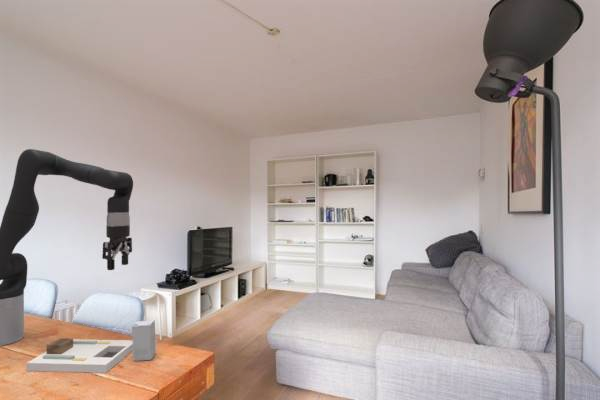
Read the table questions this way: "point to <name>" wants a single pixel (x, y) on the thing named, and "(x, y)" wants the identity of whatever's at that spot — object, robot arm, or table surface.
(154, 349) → the skincare box
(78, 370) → the board
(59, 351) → the walnut block
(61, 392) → the table surface
